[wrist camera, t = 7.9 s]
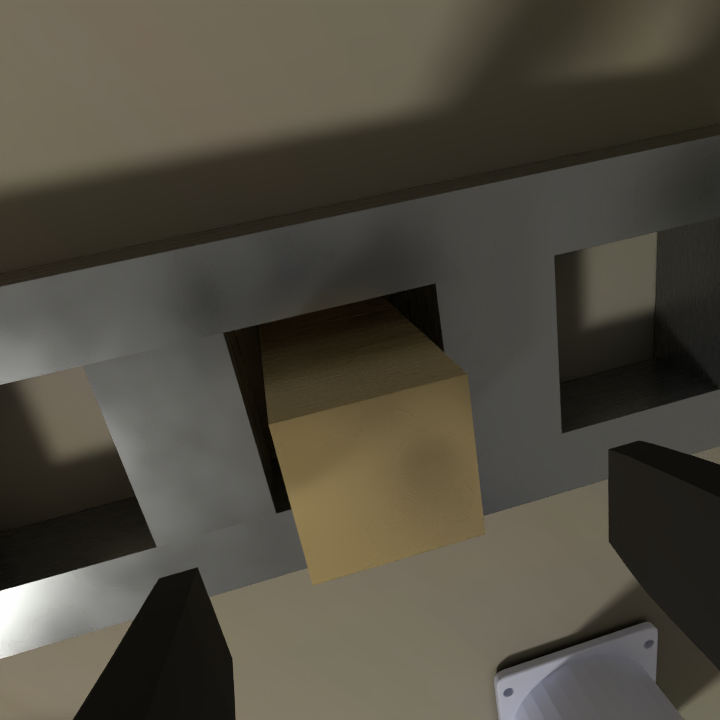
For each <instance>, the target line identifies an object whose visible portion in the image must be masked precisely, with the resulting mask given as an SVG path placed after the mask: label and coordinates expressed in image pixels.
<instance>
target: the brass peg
mask: <svg viewBox="0 0 720 720" xmlns="http://www.w3.org/2000/svg"><path fill="white" fill-rule="evenodd" d="M258 328H259V337H260V347H261V357H262V366H263V376H264V386H265V395H266V405H267V415H268V424H269V428H270V432H271V436H272V439H273V443H274V447H275V450H276V454H277V457H278V461H279V465H280V468H281V472H282V476H283V479H284V483H285V487H286V490H287V494H288V498H289V501H290V505H291V508H292V512H293V516H294V519H295V523H296V527H297V530H298V534H299V538H300V541H301V545H302V549H303V552H304V556H305V559H306V563H307V567H308V570H309V574H310V578H311V581H312V585H316V584H319V583H323V582H326V581H329V580H333V579H336V578H340V577H343V576H346V575H350V574H353V573H356V572H360V571H363V570H366V569H370V568H373V567H376V566H380V565H383V564H386V563H390V562H393V561H396V560H400V559H403V558H406V557H410V556H413V555H417V554H420V553H423V552H427V551H430V550H433V549H437V548H440V547H443V546H447V545H450V544H453V543H457V542H460V541H463V540H467V539H470V538H473V537H477V536H480V535H483V534H485V526H484V517H483V508H482V499H481V490H480V481H479V472H478V463H477V454H476V445H475V436H474V427H473V418H472V408H471V399H470V390H469V381H468V374H467V373H466V372H465V371H464V370H463V369H462V368H461V367H460V366H458V365H457V364H456V363H455V362H454V361H453V360H452V359H451V358H450V357H449V356H447V355H446V354H445V353H444V352H443V351H442V350H441V349H440V348H439V347H438V346H436V345H435V344H434V343H433V342H432V341H431V340H430V339H429V338H428V337H427V336H425V335H424V334H423V333H422V332H421V331H420V330H419V329H418V328H417V327H416V326H414V325H413V324H412V323H411V322H410V321H409V320H408V319H407V318H406V317H405V316H403V315H402V314H401V313H400V312H399V311H398V310H397V309H396V308H395V307H394V306H393V305H391V304H390V303H389V302H388V301H387V300H386V299H385V298H384V297H383V296H379V297H375V298H370V299H366V300H362V301H358V302H353V303H349V304H345V305H340V306H336V307H332V308H328V309H323V310H319V311H315V312H310V313H306V314H302V315H298V316H293V317H289V318H285V319H280V320H276V321H272V322H267V323H263V324H259V325H258Z"/></svg>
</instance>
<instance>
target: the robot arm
mask: <svg viewBox="0 0 720 720" xmlns="http://www.w3.org/2000/svg"><path fill="white" fill-rule="evenodd" d="M608 492H609V542H610V544H611V545H612V547H613V548H614V549H615V551H616V552H617V554H618V555H619V556H620V558H621V559H622V560H623V562H624V563H625V565H626V566H627V567H628V569H629V570H630V571H631V573H632V574H633V575H634V577H635V578H636V579H637V581H638V582H639V583H640V584H641V586H642V587H643V588H644V590H645V591H646V592H647V593H648V595H649V596H650V597H651V598H652V599H653V600H654V601H655V602H656V603H657V604H658V605H659V607H660V608H661V609H662V610H663V611H664V612H665V613H666V614H667V615H668V616H669V617H670V618H671V619H672V620H673V622H674V623H675V624H676V625H677V626H678V627H679V628H680V629H681V630H682V631H683V632H684V633H685V634H686V635H687V636H688V638H689V639H690V640H691V641H692V642H693V643H694V644H695V645H696V646H697V647H698V648H699V649H700V650H701V651H702V652H703V653H704V654H705V655H706V656H707V657H708V659H709V660H710V661H711V662H712V663H713V664H714V665H715V666H716V667H717V668H718V669H719V670H720V465H719V464H716V463H713V462H710V461H707V460H704V459H701V458H698V457H695V456H692V455H689V454H685V453H682V452H679V451H676V450H673V449H669V448H666V447H663V446H659V445H656V444H652V443H648V442H644V441H640V440H639V441H635V442H632V443H628V444H625V445H621V446H618V447H614V448H611V449H608ZM657 643H658V630H657V629H656V628H655V626H654V625H653V624H652V623H650V622H643V623H640V624H637V625H634V626H631V627H628V628H625V629H622V630H619V631H617V632H614V633H611V634H608V635H605V636H602V637H599V638H596V639H593V640H590V641H587V642H584V643H581V644H578V645H575V646H572V647H569V648H566V649H563V650H560V651H557V652H554V653H551V654H548V655H545V656H542V657H539V658H536V659H533V660H530V661H527V662H525V663H522V664H519V665H516V666H513V667H510V668H507V669H504V670H501V671H499V672H498V673H497V674H496V676H495V678H494V686H495V694H496V702H497V711H498V719H499V720H685V719H684V718H683V717H682V716H681V714H680V713H679V712H678V711H677V709H676V708H675V707H674V706H673V704H672V703H671V702H670V701H669V699H668V698H667V697H666V696H665V694H664V693H663V692H662V691H661V689H660V688H659V687H658V686H657V684H656V667H657ZM73 720H235V697H234V680H233V662H232V657H231V654H230V651H229V649H228V646H227V643H226V641H225V638H224V635H223V633H222V630H221V627H220V625H219V622H218V620H217V617H216V614H215V612H214V609H213V606H212V604H211V601H210V598H209V596H208V593H207V590H206V588H205V585H204V582H203V580H202V577H201V575H200V572H199V569H198V567H196V568H193V569H190V570H186V571H183V572H179V573H176V574H172V575H169V576H165V577H162V578H159V579H158V581H157V582H156V584H155V585H154V587H153V589H152V590H151V592H150V593H149V595H148V597H147V598H146V600H145V602H144V603H143V605H142V607H141V609H140V610H139V612H138V614H137V615H136V617H135V619H134V620H133V622H132V624H131V626H130V627H129V629H128V631H127V632H126V634H125V636H124V637H123V639H122V641H121V642H120V644H119V646H118V647H117V649H116V651H115V652H114V654H113V656H112V657H111V659H110V661H109V662H108V664H107V666H106V667H105V669H104V671H103V672H102V674H101V675H100V677H99V679H98V680H97V682H96V683H95V685H94V687H93V688H92V690H91V691H90V693H89V695H88V696H87V698H86V699H85V701H84V703H83V704H82V706H81V708H80V709H79V711H78V712H77V714H76V716H75V717H74V719H73Z"/></svg>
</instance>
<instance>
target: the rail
mask: <svg viewBox="0 0 720 720" xmlns="http://www.w3.org/2000/svg"><path fill="white" fill-rule="evenodd" d="M654 232H658V238H657V270H656V303H655V336H654V359H650V360H647V361H643V362H639V363H635V364H632V365H628V366H624V367H620V368H617V369H613V370H609V371H605V372H602V373H598V374H594V375H590V376H587V377H583V378H579V379H576V380H572V381H568V382H564V383H561V384H560V382H559V358H558V334H557V311H556V287H555V264H554V256H555V255H559V254H563V253H568V252H572V251H576V250H581V249H585V248H589V247H593V246H598V245H602V244H606V243H611V242H615V241H619V240H624V239H628V238H632V237H636V236H641V235H645V234H649V233H654ZM405 290H407V291H408V297H409V304H410V311H411V317H412V324H413V325H414V326H416V327H417V328H418V329H419V330H420V331H421V332H422V333H423V334H424V335H425V336H427V337H428V338H429V339H430V340H431V341H432V342H433V343H434V344H435V345H436V346H438V347H439V348H440V349H441V350H442V351H443V352H444V353H445V354H446V355H447V356H449V357H450V358H451V359H452V360H453V361H454V362H455V363H456V364H457V365H458V366H460V367H461V368H462V369H463V370H464V371H465V372H466V373H467V374H468V381H469V390H470V399H471V408H472V418H473V427H474V436H475V445H476V454H477V463H478V472H479V481H480V490H481V499H482V508H483V516H485V515H488V514H491V513H495V512H498V511H501V510H505V509H508V508H512V507H515V506H518V505H522V504H525V503H528V502H532V501H535V500H539V499H542V498H545V497H549V496H552V495H556V494H559V493H562V492H566V491H569V490H572V489H576V488H579V487H583V486H586V485H589V484H593V483H596V482H600V481H603V480H606V479H608V449H611V448H614V447H618V446H621V445H625V444H628V443H632V442H635V441H639V440H640V441H644V442H648V443H652V444H656V445H659V446H663V447H666V448H669V449H673V450H676V451H679V452H682V453H685V454H689V455H691V454H694V453H698V452H701V451H704V450H708V449H711V448H714V447H718V446H720V124H719V125H714V126H709V127H705V128H700V129H695V130H690V131H685V132H681V133H676V134H671V135H666V136H661V137H657V138H652V139H647V140H642V141H637V142H632V143H628V144H623V145H618V146H613V147H608V148H604V149H599V150H594V151H589V152H584V153H580V154H575V155H570V156H565V157H560V158H555V159H551V160H546V161H541V162H536V163H531V164H527V165H522V166H517V167H512V168H507V169H503V170H498V171H493V172H488V173H483V174H478V175H474V176H469V177H464V178H459V179H454V180H450V181H445V182H440V183H435V184H430V185H425V186H421V187H416V188H411V189H406V190H401V191H397V192H392V193H387V194H382V195H377V196H373V197H368V198H363V199H358V200H353V201H348V202H344V203H339V204H334V205H329V206H324V207H320V208H315V209H310V210H305V211H300V212H296V213H291V214H286V215H281V216H276V217H271V218H267V219H262V220H257V221H252V222H247V223H243V224H238V225H233V226H228V227H223V228H219V229H214V230H209V231H204V232H199V233H194V234H190V235H185V236H180V237H175V238H170V239H166V240H161V241H156V242H151V243H146V244H142V245H137V246H132V247H127V248H122V249H117V250H113V251H108V252H103V253H98V254H93V255H89V256H84V257H79V258H74V259H69V260H65V261H60V262H55V263H50V264H45V265H40V266H36V267H31V268H26V269H21V270H16V271H12V272H7V273H2V274H0V385H2V384H6V383H10V382H14V381H19V380H23V379H27V378H32V377H36V376H40V375H44V374H49V373H53V372H57V371H62V370H66V369H70V368H74V367H79V366H83V368H84V370H85V372H86V375H87V377H88V380H89V382H90V385H91V387H92V390H93V392H94V395H95V397H96V399H97V402H98V404H99V407H100V409H101V412H102V414H103V417H104V419H105V421H106V424H107V426H108V429H109V431H110V434H111V436H112V439H113V441H114V443H115V446H116V448H117V451H118V453H119V456H120V458H121V461H122V463H123V466H124V468H125V470H126V473H127V475H128V478H129V480H130V483H131V485H132V488H133V490H134V492H135V495H136V497H134V498H130V499H126V500H122V501H119V502H115V503H111V504H107V505H104V506H100V507H96V508H92V509H89V510H85V511H81V512H77V513H74V514H70V515H66V516H62V517H59V518H55V519H51V520H47V521H44V522H40V523H36V524H32V525H29V526H25V527H21V528H17V529H14V530H10V531H6V532H3V533H0V659H1V658H4V657H8V656H11V655H14V654H18V653H21V652H25V651H28V650H31V649H35V648H38V647H42V646H45V645H48V644H52V643H55V642H58V641H62V640H65V639H69V638H72V637H75V636H79V635H82V634H86V633H89V632H92V631H96V630H99V629H102V628H106V627H109V626H113V625H116V624H119V623H123V622H126V621H129V620H133V619H135V617H136V615H137V614H138V612H139V610H140V609H141V607H142V605H143V603H144V602H145V600H146V598H147V597H148V595H149V593H150V592H151V590H152V589H153V587H154V585H155V584H156V582H157V581H158V579H159V578H162V577H165V576H169V575H172V574H176V573H179V572H183V571H186V570H190V569H193V568H196V567H198V569H199V572H200V575H201V577H202V580H203V582H204V585H205V588H206V590H207V593H208V596H209V597H211V596H214V595H217V594H221V593H224V592H228V591H231V590H234V589H238V588H241V587H244V586H248V585H251V584H255V583H258V582H261V581H265V580H268V579H271V578H275V577H278V576H282V575H285V574H288V573H292V572H295V571H299V570H302V569H305V568H308V567H307V563H306V559H305V556H304V552H303V549H302V545H301V541H300V538H299V534H298V530H297V527H296V523H295V519H294V516H293V512H292V508H291V505H290V501H289V498H288V494H287V490H286V487H285V483H284V479H283V476H282V472H281V468H280V465H279V461H278V459H276V460H272V461H271V459H270V455H269V452H268V448H267V445H266V441H265V438H264V434H263V431H262V427H261V424H260V420H259V417H258V413H257V410H256V406H255V403H254V399H253V396H252V392H251V389H250V385H249V382H248V378H247V375H246V371H245V368H244V364H243V361H242V357H241V353H240V350H239V346H238V343H237V339H236V336H235V332H234V330H237V329H242V328H246V327H250V326H255V325H259V324H263V323H267V322H272V321H276V320H280V319H285V318H289V317H293V316H298V315H302V314H306V313H310V312H315V311H319V310H323V309H328V308H332V307H336V306H340V305H345V304H349V303H353V302H358V301H362V300H366V299H370V298H375V297H379V296H383V295H388V294H392V293H396V292H400V291H405Z"/></svg>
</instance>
